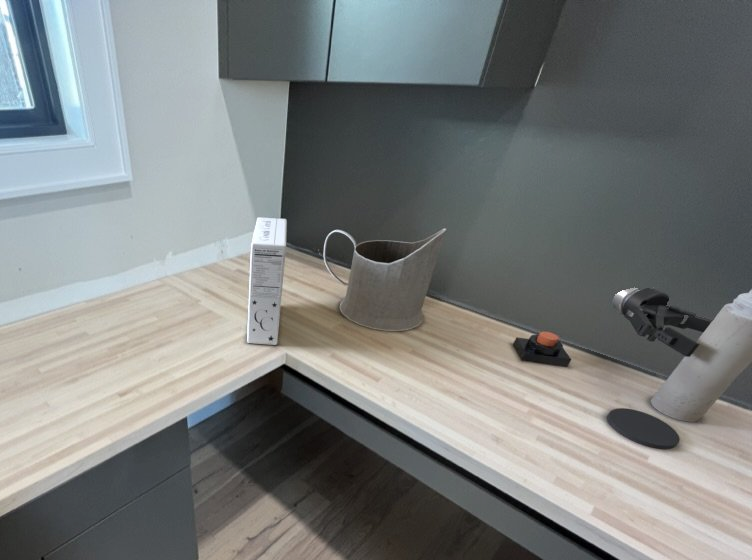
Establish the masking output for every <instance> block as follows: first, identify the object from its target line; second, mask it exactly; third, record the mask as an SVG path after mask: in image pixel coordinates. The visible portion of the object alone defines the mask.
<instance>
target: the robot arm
mask: <svg viewBox="0 0 752 560" xmlns="http://www.w3.org/2000/svg"><path fill="white" fill-rule="evenodd" d="M655 289H656V288H655ZM655 289H650V288H645V289H642V290H638V288H635V287H634V288H630V289H626V290H622V291H620V292H618V293H617V294H615V296H614V298H613V300H612V304H613V307H614V308H615V309H616V310H617V311H616V310H615V311H616V312H619V313H621V314H620V315H622V316H624V317H623V318H625V319H626V320H628V322H630V324H631V325H632V327H633V329H634V330H635V332H636V334H637V335H638V336H640V337H643V338H644V337H646V336H648V337H647V338H646V340H647V341H649V342H655V341H656V339H657V340H658V341H659V342H662V343H663V344H664V345H666V346H668V347H669V348H671V349H672V350H674V351H676V352H677V353H679V354H681V356H683V357H685V356H686V357H690V356H691V355H692V353H693V352H694V351H695V349H696V348H697V347H698V346H699V344H698V343H696V342H697V341H695V340H693V339H691V338H689V337H687V336H686V335H685V334H682V333H681V332H680V331H677V330H675V329H673V328H672V327H674V328H678V329H682V330H685V329H690V330H694V331H698V332H700V333H703V332H704V331H705V330H706V329H707V327H708V326H709V325H710V323H711V322H712V321H713V320H709V319H706V318H702V317H698V316H696V314H695V313H693V312H690V311H686V310H685V309H682V308H681V307H679V306H676V305H672V306H670V307H669V306H666V305H667V302H668V301H669V296H670V295H669V294H667V293H666V292H664V291H662V290H660V291H658V290H659V289H658V290H655ZM661 291H662V292H661ZM668 295H669V296H668ZM684 315H688V316H689V317H688V318H687V320H686V321H683V319H684ZM682 322H683V323H682ZM667 326H668V327H667ZM669 326H671V327H669Z"/></svg>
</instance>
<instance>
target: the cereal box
mask: <svg viewBox="0 0 752 560" xmlns="http://www.w3.org/2000/svg"><path fill="white" fill-rule="evenodd" d="M287 221H288V220H287V219H286V218H275V217H274V218H273V217H257V218H256V223H255V227H254V231H253V235H252V239H251V240H252V241H251V244H250V266H249V286H248V287H249V289H248V290H249V291H248V310H247V333H246V334H247V335H246V336H247V337H246V338H247V339H246V343H248V344H255V345H256V344H258V345H272V346H277V345H278V339H279V329H280V317H281V308H282V307H281V306H282V296H283V284H284V275H285V274H284V273H285V265H286V264H285V263H286V255H287V254H286V252H287V233H288V232H287V229H288V228H287V227H288V222H287Z"/></svg>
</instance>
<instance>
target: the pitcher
mask: <svg viewBox="0 0 752 560" xmlns="http://www.w3.org/2000/svg"><path fill="white" fill-rule="evenodd" d="M446 232H447V228H442V229H440V230H439V231H438V232H436V233H434V234H432V235H430V236H429V237H427V238H424V239H422V240H418V241H415V242H407V241H398V240H388V239H387V240H384V239H383V240H381V239H380V240H379V239H376V240H367V241H363V242H359V243H357V242H356V239H355V238H354V237H353V236H352V235H351V234H350V233H348V232H346V231H344V230H342V229H334V230H332V231H331V232H329V233H328V234H327V236H326V238H325V240H324V245H323V262H324V264H325V267H326V269H327V271H328V272H329V273H330V275H331V276H332V277H333V278H334V279H335V280H336V281H337V282H339V284H341V285H343V286H347V288H346V293H345V296H344V297H343V299H342V300H341V301H340V305H339V310H340V312H341V314H342V315H343V316H344V317H345V318H347V319H348V320H349V321H351V322H353V323H355V324H357V325H360V326H362V327H366V328H368V329H372V330H378V331H386V332H401V331H402V332H403V331H409V330H412V329H414V328H417V327H418V326H420V325H421V324H422V322H423V321H424V319H423V311H422V309H423V307H424V303H425V300H426V297H427V294H428V290H429V287H430V284H431V281H432V277H433V274H434V271H435V267H436V265H437V261H438V258H439V255H440V252H441V248H442V245H443V242H444V239H445V236H446ZM334 233H340V234H343V235H345V236H346V237H347V238H349V239H350V241H351V242H352V244H353V247H354V251H353V255H352V262H351V267H350V273H349V277H348V281H347V282H345V281H343V280H341V279H340V278H339V277H338V276H337V275H336V274H335V273H334V271H333V270H332V268H331V267H330V265H329V263H328V259H327V245H328V241H329V239H330V236H331V235H332V234H334Z"/></svg>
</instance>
